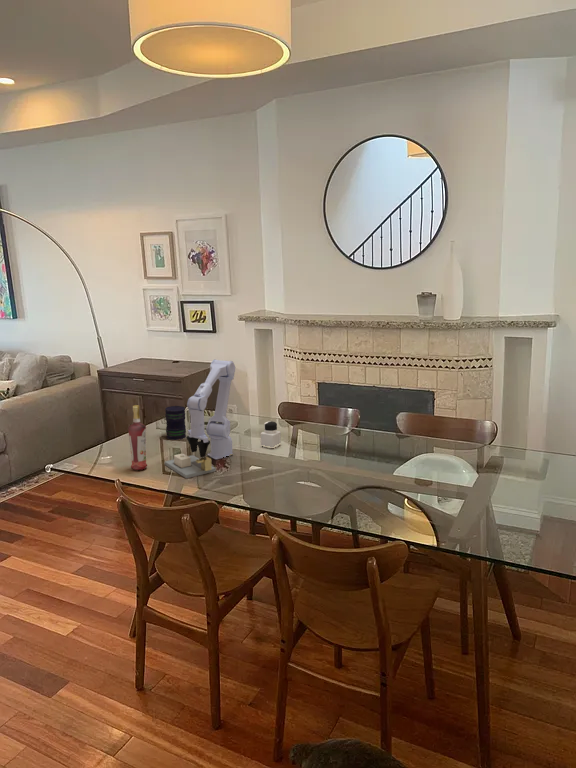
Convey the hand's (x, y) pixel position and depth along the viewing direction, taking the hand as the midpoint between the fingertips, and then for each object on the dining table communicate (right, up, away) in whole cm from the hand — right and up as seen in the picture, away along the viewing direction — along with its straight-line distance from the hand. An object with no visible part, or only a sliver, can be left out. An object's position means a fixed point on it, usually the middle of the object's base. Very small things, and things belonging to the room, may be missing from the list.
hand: (198, 454), depth 254 cm
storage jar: (-18, +3, +44) cm, 47 cm away
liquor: (-26, -7, 0) cm, 26 cm away
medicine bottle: (+30, 0, +30) cm, 43 cm away
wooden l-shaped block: (+3, -6, -5) cm, 8 cm away
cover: (-7, -5, +1) cm, 9 cm away
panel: (-4, -6, +1) cm, 7 cm away
